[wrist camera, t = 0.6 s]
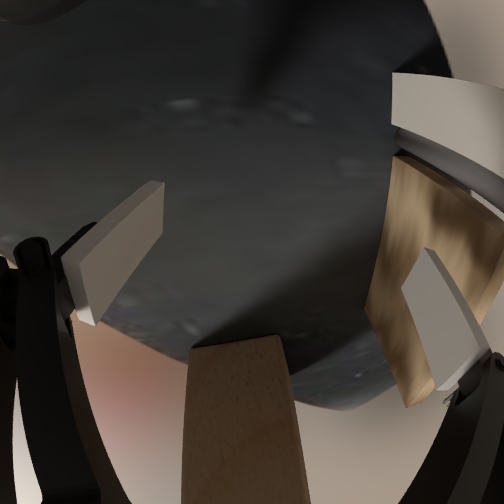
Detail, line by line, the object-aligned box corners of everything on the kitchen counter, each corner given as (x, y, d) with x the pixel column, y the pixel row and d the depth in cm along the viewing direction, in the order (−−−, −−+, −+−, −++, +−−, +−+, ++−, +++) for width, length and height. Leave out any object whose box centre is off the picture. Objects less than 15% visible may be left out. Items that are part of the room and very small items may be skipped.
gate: (393, 155, 18) (507, 239, 9) (421, 157, 18) (531, 235, 9) (363, 308, 27) (406, 408, 17) (386, 304, 27) (432, 398, 18)
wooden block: (279, 331, 28) (310, 526, 12) (290, 376, 34) (313, 521, 17) (188, 347, 29) (178, 530, 12) (216, 388, 35) (219, 529, 18)
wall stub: (392, 72, 15) (606, 132, 2) (418, 78, 15) (615, 145, 2) (389, 146, 18) (564, 283, 5) (414, 148, 18) (579, 273, 5)
